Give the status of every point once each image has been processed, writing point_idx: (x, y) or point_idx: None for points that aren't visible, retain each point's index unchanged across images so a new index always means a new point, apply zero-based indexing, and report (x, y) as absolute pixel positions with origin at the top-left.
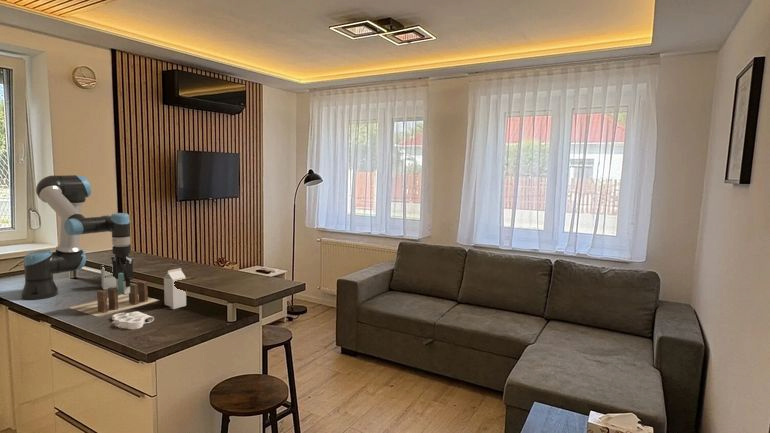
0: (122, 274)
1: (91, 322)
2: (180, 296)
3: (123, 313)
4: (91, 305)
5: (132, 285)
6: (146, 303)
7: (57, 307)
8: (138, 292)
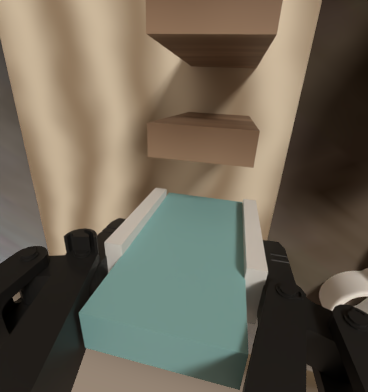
0: (191, 372)
1: (251, 324)
2: None
3: (357, 296)
4: (88, 227)
5: (214, 160)
6: (292, 85)
7: (11, 255)
8: (180, 57)
